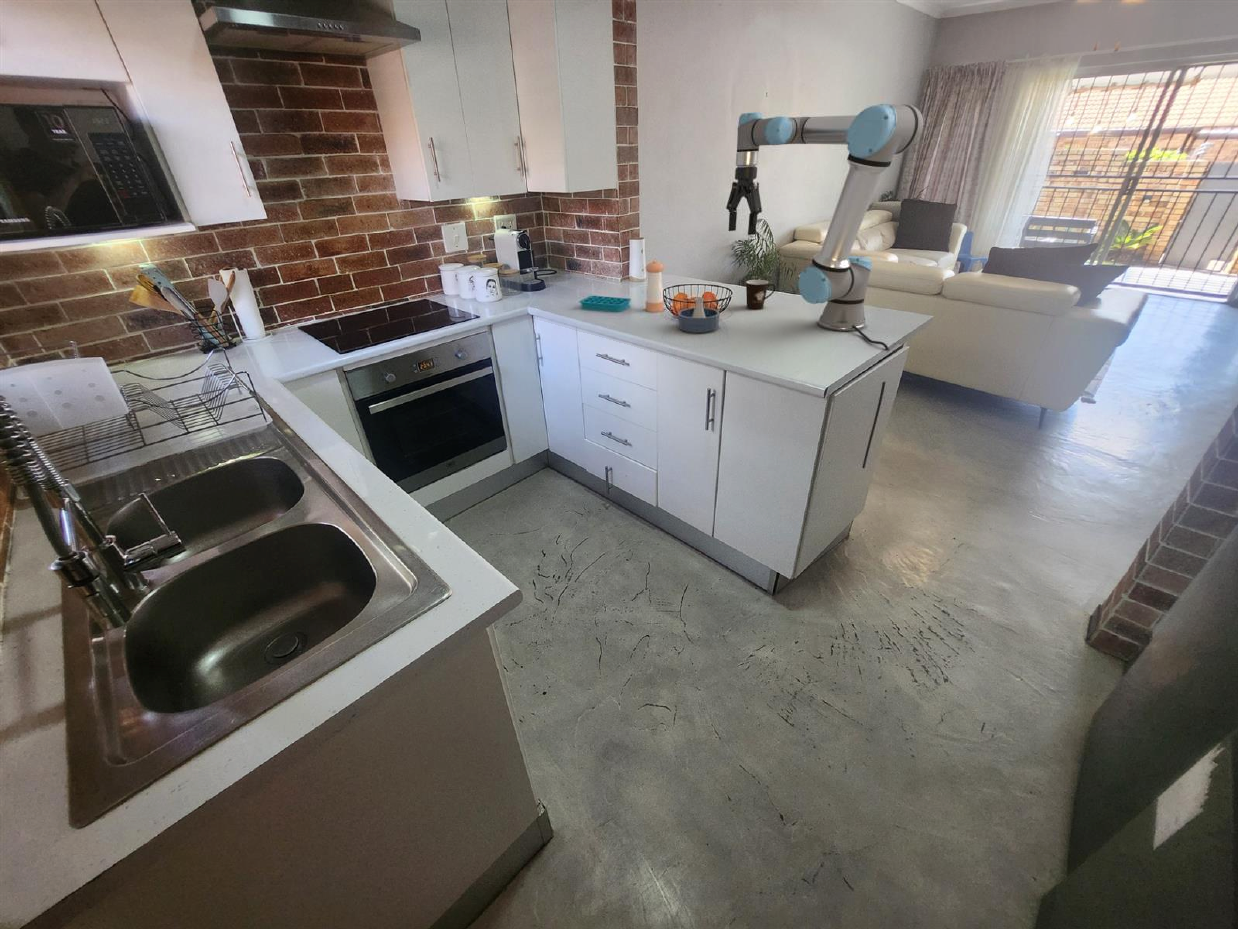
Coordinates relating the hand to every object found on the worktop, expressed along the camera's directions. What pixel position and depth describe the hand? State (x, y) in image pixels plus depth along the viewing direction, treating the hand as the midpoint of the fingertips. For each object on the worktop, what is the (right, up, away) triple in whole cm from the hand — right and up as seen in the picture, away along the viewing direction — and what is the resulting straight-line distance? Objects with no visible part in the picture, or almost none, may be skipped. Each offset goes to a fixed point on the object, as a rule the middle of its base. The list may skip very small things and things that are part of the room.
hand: (741, 232), depth 188 cm
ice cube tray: (-51, -19, +28) cm, 62 cm away
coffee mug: (+11, -23, +17) cm, 31 cm away
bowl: (-17, -36, -3) cm, 40 cm away
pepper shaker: (-31, -22, +21) cm, 44 cm away
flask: (-17, -36, -3) cm, 40 cm away
